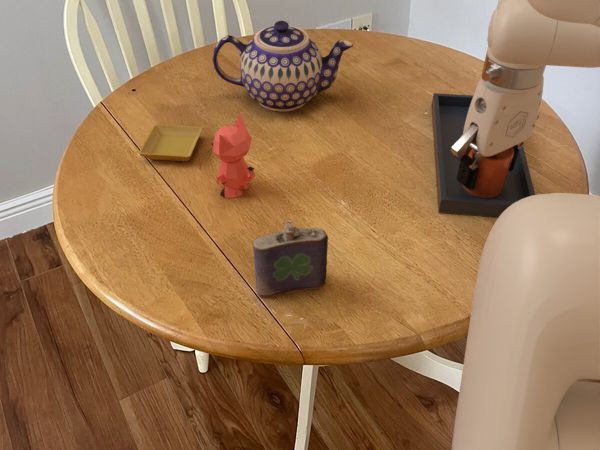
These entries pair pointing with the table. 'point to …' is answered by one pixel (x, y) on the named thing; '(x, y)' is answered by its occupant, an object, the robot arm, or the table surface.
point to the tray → (450, 193)
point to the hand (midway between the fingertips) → (484, 174)
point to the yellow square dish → (171, 142)
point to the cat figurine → (233, 158)
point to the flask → (290, 260)
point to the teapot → (283, 66)
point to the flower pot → (491, 173)
